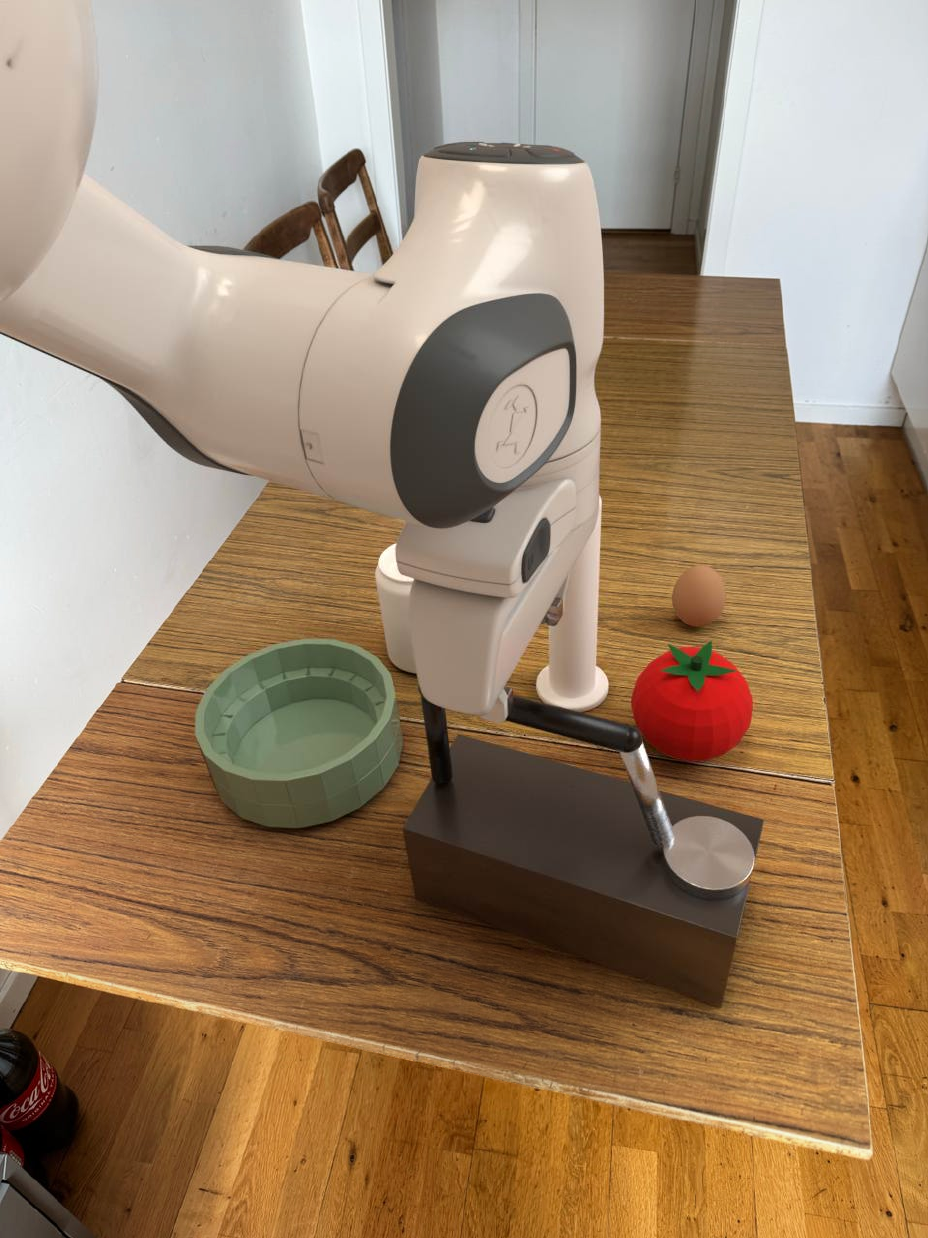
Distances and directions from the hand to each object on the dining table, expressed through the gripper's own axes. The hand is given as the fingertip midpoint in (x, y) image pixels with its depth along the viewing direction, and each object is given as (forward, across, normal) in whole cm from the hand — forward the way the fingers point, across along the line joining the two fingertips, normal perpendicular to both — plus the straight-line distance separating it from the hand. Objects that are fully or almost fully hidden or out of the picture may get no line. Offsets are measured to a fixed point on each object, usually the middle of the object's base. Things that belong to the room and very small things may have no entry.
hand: (524, 663), depth 57 cm
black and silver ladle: (+14, 0, +4) cm, 15 cm away
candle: (+24, -22, -4) cm, 32 cm away
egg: (+24, -36, +5) cm, 43 cm away
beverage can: (+24, -22, -20) cm, 38 cm away
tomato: (+24, -19, +8) cm, 31 cm away
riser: (+23, 0, +4) cm, 24 cm away
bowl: (+23, -5, -24) cm, 34 cm away
